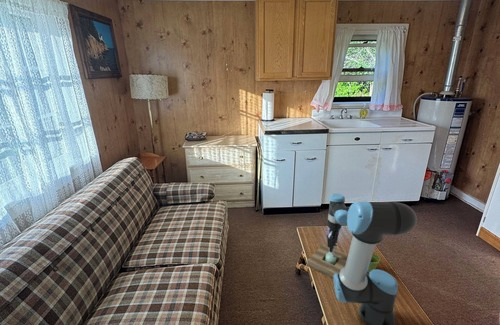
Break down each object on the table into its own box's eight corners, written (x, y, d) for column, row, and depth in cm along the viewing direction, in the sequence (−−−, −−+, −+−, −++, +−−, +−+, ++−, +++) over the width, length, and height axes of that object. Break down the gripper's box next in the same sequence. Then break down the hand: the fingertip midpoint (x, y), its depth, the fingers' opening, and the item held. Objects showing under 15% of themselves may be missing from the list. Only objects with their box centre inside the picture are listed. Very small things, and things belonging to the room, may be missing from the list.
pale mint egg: (333, 267, 153) (333, 260, 152) (323, 263, 157) (324, 256, 155) (337, 262, 158) (338, 255, 156) (327, 258, 161) (328, 251, 160)
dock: (339, 282, 144) (340, 276, 143) (306, 265, 157) (307, 260, 155) (353, 262, 159) (354, 257, 157) (322, 249, 171) (322, 244, 170)
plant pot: (379, 276, 148) (382, 263, 145) (361, 274, 150) (363, 261, 147) (375, 265, 156) (377, 253, 154) (358, 263, 158) (360, 251, 155)
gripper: (336, 227, 141) (332, 264, 149) (346, 217, 150) (341, 252, 158) (323, 222, 146) (320, 258, 153) (333, 213, 155) (329, 247, 163)
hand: (331, 255), depth 156 cm, fingers closed
